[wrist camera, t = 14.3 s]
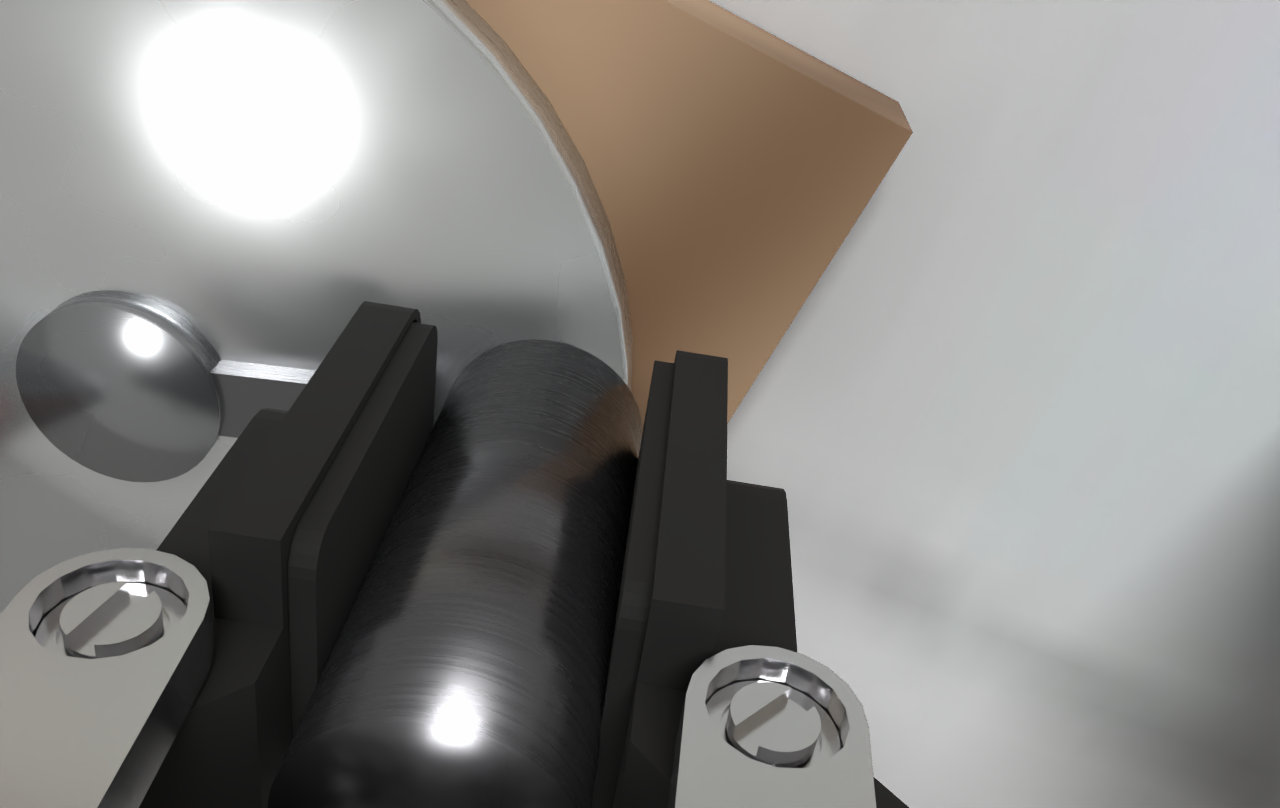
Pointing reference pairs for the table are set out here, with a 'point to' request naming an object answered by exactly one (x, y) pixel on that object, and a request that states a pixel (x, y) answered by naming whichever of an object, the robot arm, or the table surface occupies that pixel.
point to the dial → (304, 334)
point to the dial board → (707, 164)
